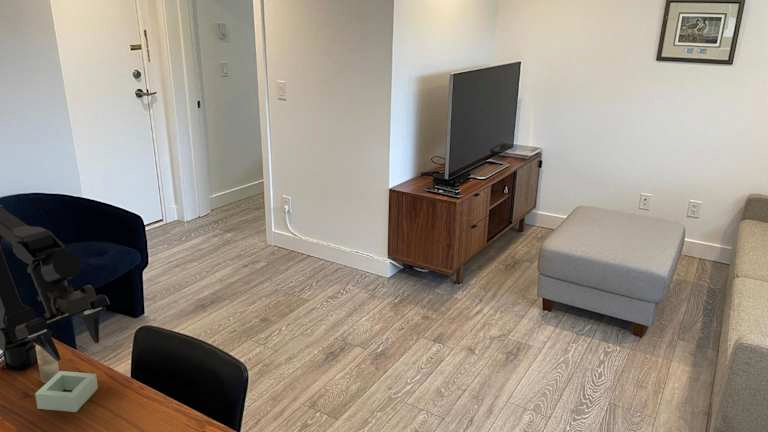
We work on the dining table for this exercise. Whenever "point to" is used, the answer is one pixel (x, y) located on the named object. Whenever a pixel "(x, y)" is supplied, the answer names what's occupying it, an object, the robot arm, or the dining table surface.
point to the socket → (66, 401)
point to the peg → (46, 365)
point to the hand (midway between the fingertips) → (78, 351)
